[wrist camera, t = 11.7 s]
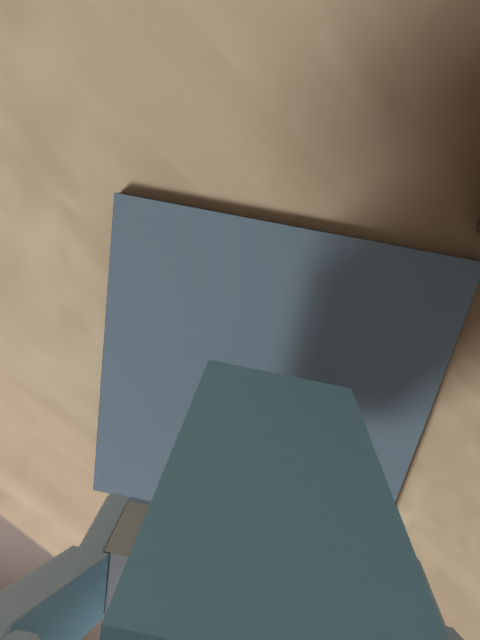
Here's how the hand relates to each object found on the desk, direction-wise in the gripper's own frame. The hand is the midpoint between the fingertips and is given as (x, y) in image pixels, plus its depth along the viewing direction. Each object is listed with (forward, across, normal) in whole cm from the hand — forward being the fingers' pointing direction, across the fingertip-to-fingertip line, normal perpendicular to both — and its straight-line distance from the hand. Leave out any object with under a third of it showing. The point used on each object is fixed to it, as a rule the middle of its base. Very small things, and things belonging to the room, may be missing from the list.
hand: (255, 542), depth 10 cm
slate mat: (+8, 0, 0) cm, 8 cm away
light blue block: (+4, 0, 0) cm, 4 cm away
